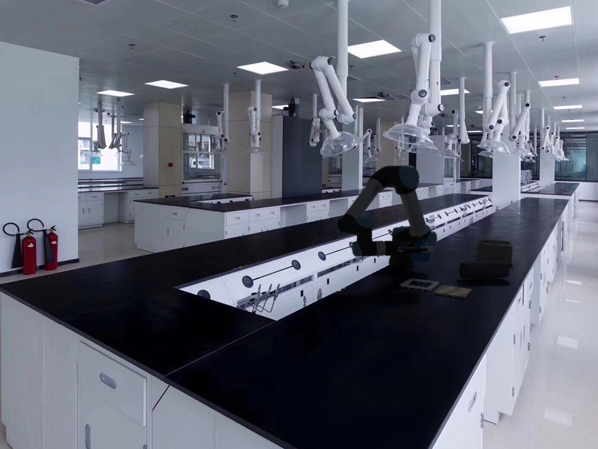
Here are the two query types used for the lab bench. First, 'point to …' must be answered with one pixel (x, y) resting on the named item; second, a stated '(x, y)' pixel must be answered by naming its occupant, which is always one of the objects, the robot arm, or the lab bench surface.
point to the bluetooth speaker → (484, 270)
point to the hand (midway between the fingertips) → (430, 247)
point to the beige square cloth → (453, 291)
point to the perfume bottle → (423, 255)
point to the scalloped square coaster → (418, 286)
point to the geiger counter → (493, 251)
